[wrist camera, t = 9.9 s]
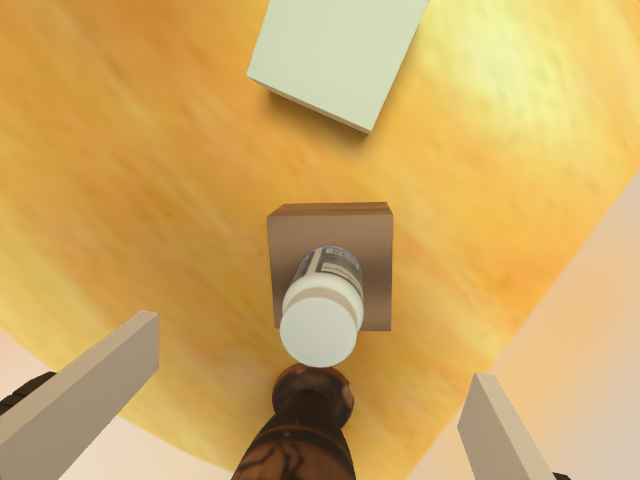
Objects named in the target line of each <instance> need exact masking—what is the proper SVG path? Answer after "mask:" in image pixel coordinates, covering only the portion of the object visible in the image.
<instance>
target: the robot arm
mask: <svg viewBox="0 0 640 480" xmlns="http://www.w3.org/2000/svg"><path fill="white" fill-rule="evenodd" d="M158 368H159V313H156V312H150V311H145V310H140V311H139V312H138V313H136V314H135V315H134V316H133V317H131V318H130V319H129V320H127V321H126V322H125V323H123V324H122V325H121V326H119V327H118V328H117V329H115V330H114V331H113V332H111V333H110V334H109V335H107V336H106V337H105V338H103V339H102V340H101V341H99V342H98V343H97V344H95V345H94V346H93V347H91V348H90V349H89V350H87V351H86V352H85V353H84V354H82V355H81V356H80V357H78V358H77V359H76V360H74V361H73V362H72V363H70V364H69V365H68V366H66V367H65V368H64V369H62V370H61V371H60V372H58V373H55V372H47V373H45V374H43V375H41V376H38V377H36V378H34V379H32V380H30V381H28V382H27V383H25V384H24V385H23V386H21V387H20V388H18V389H17V390H16V391H14V392H13V394H12V395H9V396H7V397H6V398H4V399H3V400H2V401H1V402H0V480H58V479H59V478H60V477H61V476H62V475H63V474H64V472H65V471H66V470H67V469H68V468H69V467H70V466H71V465H72V463H74V461H75V460H76V459H77V458H78V457H79V456H80V455H81V453H83V451H84V450H85V449H86V448H87V447H88V446H89V445H90V444H91V443H92V441H93V440H94V439H95V438H96V437H97V436H98V435H99V434H100V433H101V431H102V430H103V429H104V428H105V427H106V426H107V425H108V424H109V423H110V421H111V420H112V419H113V418H114V417H115V416H116V415H117V414H118V413H119V411H120V410H121V409H122V408H123V407H124V406H125V405H126V404H127V403H128V401H129V400H130V399H131V398H132V397H133V396H134V395H135V394H136V393H137V391H138V390H139V389H140V388H141V387H142V386H143V385H144V384H145V383H146V381H147V380H148V379H149V378H150V377H151V376H152V375H153V374H154V373H155V371H156V370H157V369H158ZM457 428H458V431H459V433H460V436H461V439H462V442H463V445H464V448H465V450H466V453H467V456H468V459H469V462H470V465H471V468H472V470H473V473H474V476H475V479H476V480H571V479H570V478H569V477H568V476H567V475H563V474H559V473H554V472H551V470H550V468H549V467H548V465H547V463H546V461H545V460H544V458H543V456H542V455H541V453H540V451H539V450H538V448H537V446H536V445H535V443H534V441H533V440H532V438H531V436H530V434H529V433H528V431H527V429H526V428H525V426H524V424H523V423H522V421H521V419H520V417H519V416H518V414H517V412H516V411H515V409H514V407H513V406H512V404H511V402H510V401H509V399H508V397H507V395H506V394H505V392H504V390H503V389H502V387H501V385H500V384H499V382H498V380H497V379H496V377H495V376H494V375H490V374H484V373H479V372H475V373H474V376H473V379H472V382H471V385H470V389H469V392H468V395H467V398H466V401H465V404H464V407H463V411H462V414H461V418H460V420H459V423H458V426H457Z"/></svg>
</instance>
